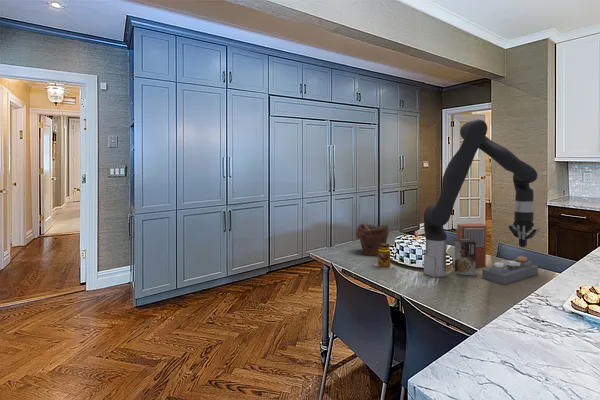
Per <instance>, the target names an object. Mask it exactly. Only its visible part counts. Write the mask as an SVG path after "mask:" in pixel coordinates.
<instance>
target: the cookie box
mask: <svg viewBox="0 0 600 400" xmlns="http://www.w3.org/2000/svg"><path fill="white" fill-rule="evenodd" d="M454 259H455V260H454V275H462V276H463V275H464V276H476V268H477V267H476V241H475V240H473V239H457V238H454Z"/></svg>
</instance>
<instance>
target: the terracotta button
mask: <svg viewBox="0 0 600 400" xmlns="http://www.w3.org/2000/svg"><path fill="white" fill-rule="evenodd" d="M517 259H518V262H523V263H526V262H527V261H528V260H527V259H528V257H526V256H522V255H518V256H517Z"/></svg>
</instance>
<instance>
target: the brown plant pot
mask: <svg viewBox="0 0 600 400" xmlns="http://www.w3.org/2000/svg"><path fill="white" fill-rule="evenodd" d="M389 232H390V227H389V224H384V225H377V226H376V225H372V224H366V223H361V224H359V225H358V226H357V228H356V231H355V235H356V238H357V240H359V241H360V245H361V246H360V247H361V250H362V253H363V254H364V255H368V256H378V249H379V244H381V243H386V244H387V240H388V236H389V234H390V233H389Z"/></svg>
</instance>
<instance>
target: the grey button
mask: <svg viewBox="0 0 600 400" xmlns="http://www.w3.org/2000/svg"><path fill="white" fill-rule="evenodd" d="M503 265H504V264H503V263H501V262H500V261H495V262H494V263H493V266H494V268H497V269H503Z"/></svg>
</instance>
